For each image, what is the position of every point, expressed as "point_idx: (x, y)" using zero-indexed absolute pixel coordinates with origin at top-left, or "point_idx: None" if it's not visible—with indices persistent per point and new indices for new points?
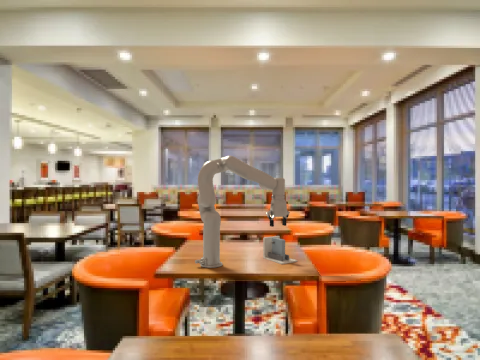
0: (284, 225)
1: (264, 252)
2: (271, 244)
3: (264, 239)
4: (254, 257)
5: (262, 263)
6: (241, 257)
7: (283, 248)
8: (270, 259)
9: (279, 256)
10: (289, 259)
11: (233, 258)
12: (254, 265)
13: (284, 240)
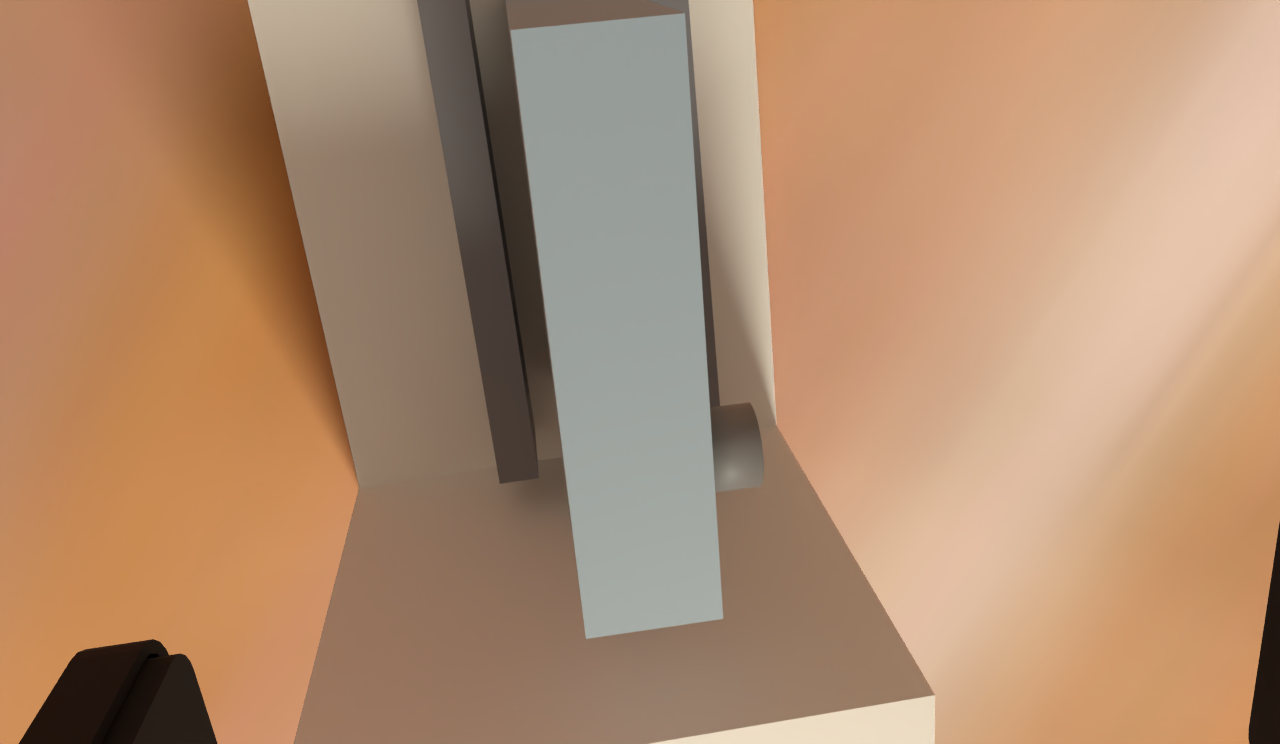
0: (209, 722)
1: (803, 475)
2: None
3: (914, 666)
4: (876, 574)
5: (1023, 96)
6: (1075, 647)
7: (576, 5)
8: (764, 221)
9: (684, 2)
10: (362, 10)
11: (1229, 629)
12: (1252, 22)
13: (547, 25)
